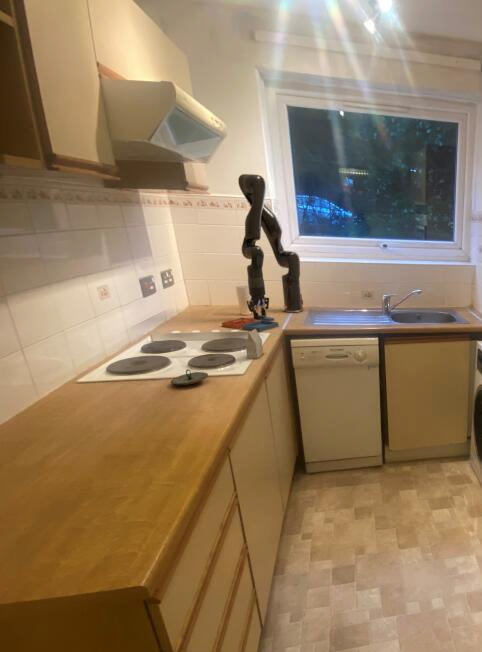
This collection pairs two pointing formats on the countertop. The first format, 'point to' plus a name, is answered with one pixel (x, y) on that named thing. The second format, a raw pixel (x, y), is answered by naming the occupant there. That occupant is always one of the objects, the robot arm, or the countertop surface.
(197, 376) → the lid
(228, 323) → the terracotta tray
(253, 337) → the grey stone block
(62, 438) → the countertop surface
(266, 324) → the slate tray
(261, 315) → the slate spoon
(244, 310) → the drinking glass
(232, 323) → the terracotta spoon
